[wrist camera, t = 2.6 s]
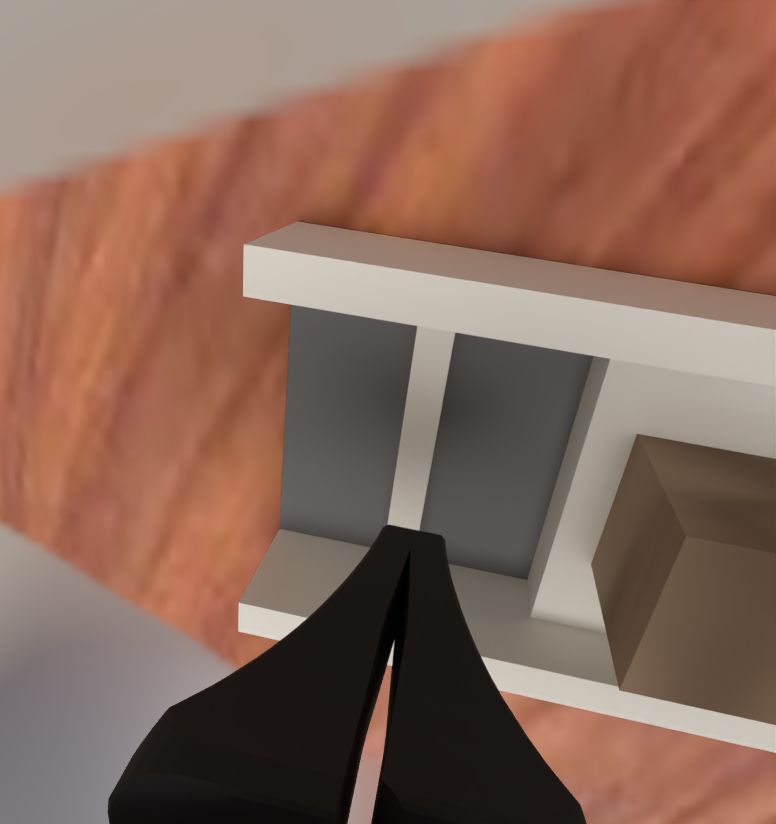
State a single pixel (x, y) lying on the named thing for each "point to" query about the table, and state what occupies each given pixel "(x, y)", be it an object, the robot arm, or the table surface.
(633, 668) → the walnut block
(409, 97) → the table surface
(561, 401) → the track
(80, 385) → the table surface
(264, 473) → the table surface
